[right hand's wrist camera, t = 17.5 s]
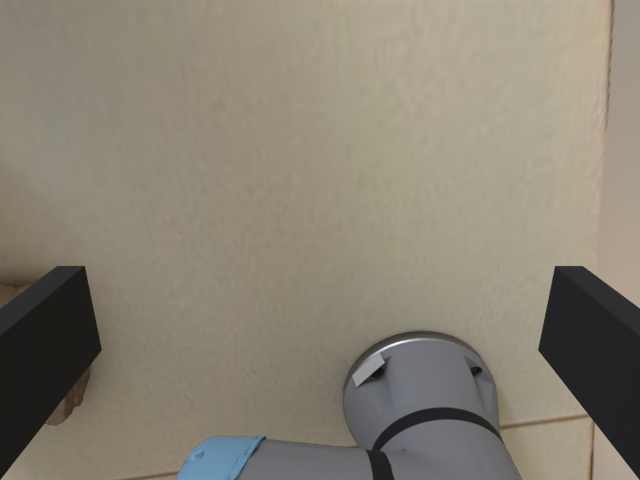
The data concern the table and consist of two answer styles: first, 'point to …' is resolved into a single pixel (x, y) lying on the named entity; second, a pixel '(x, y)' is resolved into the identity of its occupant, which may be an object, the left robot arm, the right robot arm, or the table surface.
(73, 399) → the stone
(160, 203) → the table surface
